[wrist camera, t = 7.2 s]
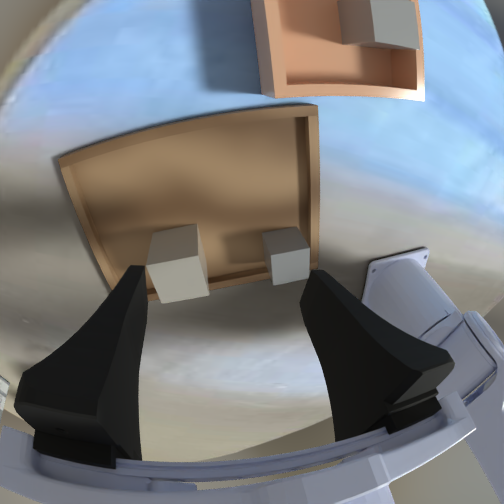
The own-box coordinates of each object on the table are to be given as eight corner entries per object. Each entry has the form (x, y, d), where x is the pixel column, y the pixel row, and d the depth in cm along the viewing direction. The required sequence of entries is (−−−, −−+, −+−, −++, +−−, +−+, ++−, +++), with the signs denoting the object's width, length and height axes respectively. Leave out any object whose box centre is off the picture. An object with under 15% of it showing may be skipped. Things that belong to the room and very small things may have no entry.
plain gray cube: (297, 255, 24) (309, 278, 21) (264, 261, 23) (273, 285, 21) (296, 226, 22) (309, 247, 20) (261, 232, 22) (270, 255, 19)
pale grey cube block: (206, 260, 22) (209, 295, 19) (165, 268, 22) (161, 303, 19) (197, 223, 20) (198, 255, 17) (152, 232, 20) (145, 265, 17)
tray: (313, 261, 25) (317, 268, 24) (122, 297, 23) (120, 305, 23) (312, 103, 17) (317, 105, 16) (63, 155, 16) (57, 159, 15)
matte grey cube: (342, 44, 14) (375, 41, 11) (336, 1, 12) (368, -11, 9) (383, 49, 14) (420, 50, 11) (379, 8, 12) (414, 2, 9)
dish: (394, 94, 17) (424, 101, 14) (261, 94, 16) (275, 98, 13) (383, -24, 11) (411, -32, 8) (244, -42, 10) (254, -62, 7)
